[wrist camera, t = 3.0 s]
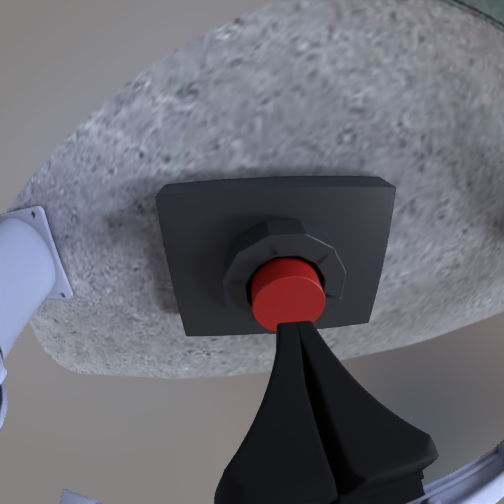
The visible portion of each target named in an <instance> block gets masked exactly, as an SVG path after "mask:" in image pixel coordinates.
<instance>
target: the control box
mask: <svg viewBox="0 0 504 504" xmlns="http://www.w3.org/2000/svg"><path fill="white" fill-rule="evenodd" d="M395 191H396V187H394V186H393V185H391V184H390V183H388V182H387V181H385V180H384V179H382V178H380V177H365V176H286V177H258V178H239V179H224V180H210V181H198V182H187V183H177V184H167V185H165V186H164V187H163V188H162V189H161V190H160V191H159V193H158V194H157V195H156V196H155V199H156V205H157V211H158V216H159V222H160V227H161V232H162V237H163V242H164V247H165V252H166V257H167V261H168V266H169V270H170V275H171V279H172V283H173V287H174V292H175V296H176V300H177V304H178V308H179V312H180V315H181V319H182V323H183V327H184V330H185V334H186V336H225V335H248V334H265V333H268V334H277V332H276V331H272V330H269V329H267V328H265V327H263V326H262V325H261V324H260V323H259V322H258V321H257V320H256V318H255V316H254V314H253V308H252V291H251V285H252V281H253V278H254V276H255V274H256V273H257V271H258V270H259V269H260V268H261V267H262V266H264V265H265V264H267V263H268V262H270V261H272V260H275V259H279V258H285V257H291V258H297V259H300V260H303V261H305V262H307V263H308V264H309V265H311V266H312V267H313V269H314V270H315V272H316V274H317V276H318V279H319V282H320V284H321V287H322V289H323V292H324V295H325V306H324V309H323V311H322V313H321V315H320V316H319V317H318V318H317V320H316V321H314V322H313V324H314V326H315V328H316V329H323V328H332V327H340V326H348V325H356V324H363V323H368V322H369V319H370V315H371V312H372V308H373V304H374V301H375V297H376V293H377V289H378V285H379V280H380V276H381V272H382V267H383V262H384V258H385V253H386V248H387V242H388V237H389V231H390V226H391V219H392V213H393V206H394V199H395Z"/></svg>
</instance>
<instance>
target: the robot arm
mask: <svg viewBox="0 0 504 504" xmlns="http://www.w3.org/2000/svg"><path fill="white" fill-rule="evenodd" d="M33 212H34V213H35V215H34V213H33ZM73 296H74V294H73V291H72V289H71V286H70V284H69V282H68V279H67V277H66V274H65V272H64V269H63V266H62V264H61V261H60V258H59V255H58V253H57V250H56V247H55V244H54V241H53V238H52V235H51V232H50V228H49V225H48V222H47V218H46V215H45V211H44V209H43V208H42V207H41V206H34V207H30V208H25V209H21V210H17V211H12V212H8V213H4V214H0V429H1V427H2V424H3V422H4V419H5V416H6V412H7V393H6V389H5V387H4V385H3V383H2V382H3V380H4V379H5V377H6V375H7V371H6V369H5V368H4V366H3V362H4V360H5V358H6V357H7V355H8V353H9V352H10V350H11V348H12V346H13V345H14V344H15V342H16V340H17V339H18V337H19V336H20V334H21V332H22V331H23V330H24V328H25V326H26V325H27V324H28V322H29V321H30V319H31V318H32V316H33V315H34V314H35V312H36V311H37V309H38V308H39V307H40V305H41V304H42V302H43V301H44V300H45V299H56V300H71V299H72V298H73ZM438 456H439V455H438V452H437V450H436V447H435V444H434V442H433V440H432V439H431V437H430V435H429V434H426V433H425V432H423V431H421V430H419V429H417V428H416V427H414V426H412V425H411V424H409V423H407V422H406V421H404V420H403V419H401V418H400V417H398V416H397V415H396V414H394V413H393V412H392V411H390V410H389V409H388V408H386V407H385V406H384V405H382V404H381V403H380V402H379V401H377V400H376V399H375V398H374V397H373V396H372V395H371V394H369V393H368V392H367V391H366V390H365V389H364V388H363V387H362V386H361V385H360V384H359V383H358V382H357V381H356V380H355V379H354V378H353V377H352V375H351V374H350V373H349V372H348V371H347V370H346V369H345V367H344V366H343V365H342V364H341V363H340V361H339V360H338V359H337V358H336V356H335V355H334V354H333V352H332V351H331V350H330V348H329V347H328V346H327V344H326V343H325V341H324V340H323V338H322V337H321V335H320V334H319V332H318V331H317V329H316V328H315V326H314V324H313V322H311V321H310V320H308V321H297V322H285V323H279V324H278V325H277V335H276V355H275V360H274V365H273V369H272V373H271V376H270V380H269V383H268V386H267V389H266V392H265V395H264V398H263V400H262V403H261V406H260V408H259V410H258V412H257V415H256V417H255V419H254V421H253V423H252V425H251V427H250V429H249V431H248V433H247V435H246V437H245V438H244V440H243V442H242V444H241V445H240V447H239V449H238V451H237V452H236V454H235V455H234V456H233V458H232V460H231V461H230V463H229V464H228V466H227V467H226V469H225V470H224V472H223V475H222V478H221V479H220V482H219V484H218V487H217V489H216V492H215V497H214V504H416V503H418V502H421V501H422V502H421V503H420V504H495V503H496V502H498V501H499V500H500V499H501V498H502V497H503V496H504V440H503V441H501V442H500V443H499V444H498V445H497V446H496V447H495V448H493V449H492V450H490V451H489V452H487V453H486V454H484V455H482V456H481V457H479V458H477V459H476V460H474V461H472V462H470V463H469V464H467V465H465V466H463V467H462V468H460V469H458V470H456V471H454V472H452V473H450V474H448V475H446V476H444V477H442V478H440V479H438V480H436V481H434V482H432V483H430V484H427V485H426V486H423V485H422V482H421V479H423V478H424V475H423V472H422V470H423V469H425V468H426V467H427V466H429V465H430V464H432V463H433V462H434V461H435V460H436V459H437V458H438ZM60 504H101V503H100V502H98V501H96V500H93V499H91V498H88V497H85V496H82V495H80V494H77V493H74V492H72V491H69V490H67V489H63V491H62V495H61V500H60Z"/></svg>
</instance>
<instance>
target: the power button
mask: <svg viewBox="0 0 504 504" xmlns="http://www.w3.org/2000/svg"><path fill="white" fill-rule="evenodd" d="M251 291H252V308H253V314H254V316H255V318H256V320H257V321H258V322H259V323H260V324H261V325H262V326H263V327H265V328H267V329H269V330H272V331H276V332H277V325H278V324H279V323H285V322H297V321H308V320H310V321H311V322H314V321H316V320H317V318H318V317H319V316H320V315H321V313H322V311H323V309H324V306H325V295H324V292H323V289H322V287H321V284H320V282H319V279H318V276H317V274H316V272H315V270H314V269H313V267H312V266H311V265H309V264H308V263H307V262H305V261H303V260H300V259H297V258H291V257H285V258H279V259H275V260H272V261H270V262H268V263H267V264H265V265H264V266H262V267H261V268H260V269H259V270H258V271H257V273H256V274H255V276H254V278H253V281H252V285H251Z"/></svg>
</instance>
